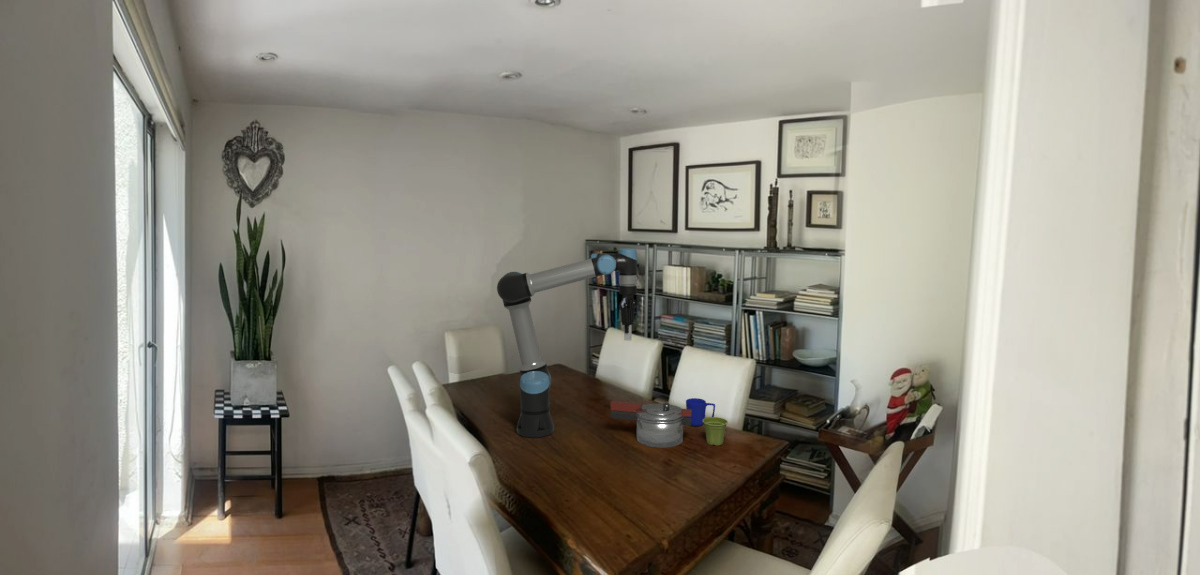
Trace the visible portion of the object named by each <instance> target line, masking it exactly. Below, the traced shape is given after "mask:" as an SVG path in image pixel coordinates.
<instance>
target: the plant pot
mask: <svg viewBox="0 0 1200 575" xmlns="http://www.w3.org/2000/svg"><path fill="white" fill-rule="evenodd" d="M727 424H728V420H727V419H725V418H723V417H718V416H714V417H712V416H708V417H705V418H704V419H703V426H704V431H705V440H706V443H707V444H708V445H710V446H713V445H715V446H720V445H723V444H724V441H725V440H724V439H725V432H726V428H727Z"/></svg>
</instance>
